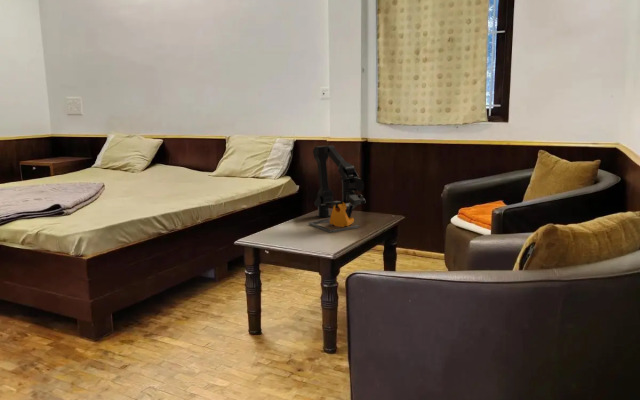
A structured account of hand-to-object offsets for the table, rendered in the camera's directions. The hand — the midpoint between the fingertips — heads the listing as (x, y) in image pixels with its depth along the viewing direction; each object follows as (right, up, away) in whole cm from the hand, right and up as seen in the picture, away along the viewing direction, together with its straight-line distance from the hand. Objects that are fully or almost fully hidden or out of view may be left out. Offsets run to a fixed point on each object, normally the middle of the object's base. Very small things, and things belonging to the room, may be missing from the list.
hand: (348, 218), depth 269 cm
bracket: (-3, -3, -2) cm, 5 cm away
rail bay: (-8, -4, -4) cm, 9 cm away
